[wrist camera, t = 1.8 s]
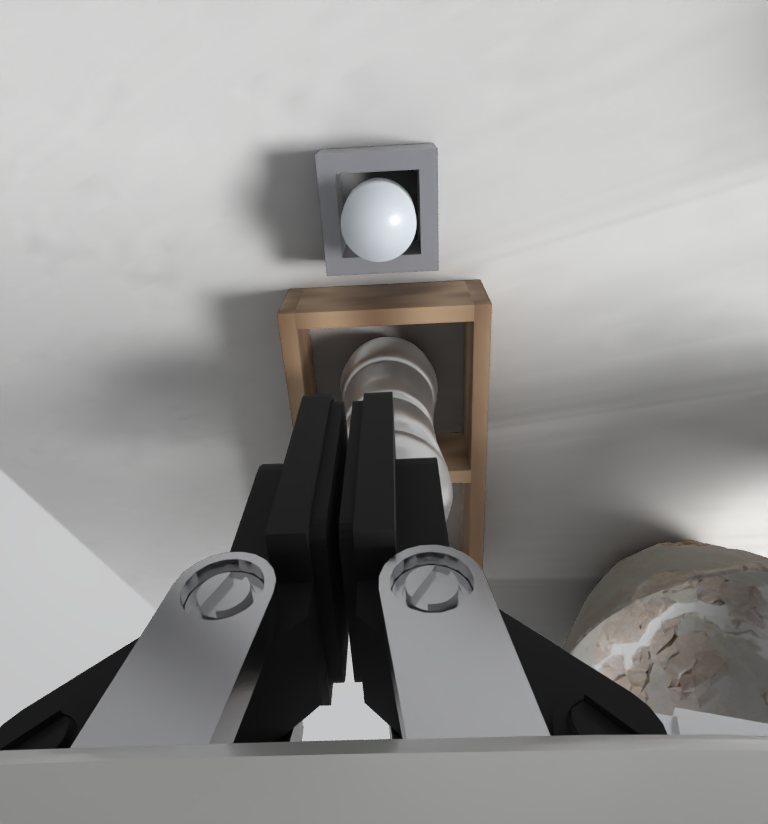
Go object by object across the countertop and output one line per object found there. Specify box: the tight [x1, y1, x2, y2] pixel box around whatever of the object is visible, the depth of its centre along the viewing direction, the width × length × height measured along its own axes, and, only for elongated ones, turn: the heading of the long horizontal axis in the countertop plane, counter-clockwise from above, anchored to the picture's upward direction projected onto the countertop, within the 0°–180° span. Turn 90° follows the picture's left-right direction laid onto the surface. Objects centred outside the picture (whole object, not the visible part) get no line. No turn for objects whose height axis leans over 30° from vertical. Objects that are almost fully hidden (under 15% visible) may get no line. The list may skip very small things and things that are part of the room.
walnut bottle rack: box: [277, 280, 492, 571], centre depth 43 cm, size 12×24×5 cm, turn 3°
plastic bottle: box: [340, 337, 453, 521], centre depth 33 cm, size 6×7×20 cm
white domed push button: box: [341, 178, 417, 262], centre depth 33 cm, size 4×4×2 cm
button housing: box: [315, 143, 439, 276], centre depth 35 cm, size 7×7×4 cm
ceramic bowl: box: [563, 540, 768, 724], centre depth 47 cm, size 22×23×10 cm
